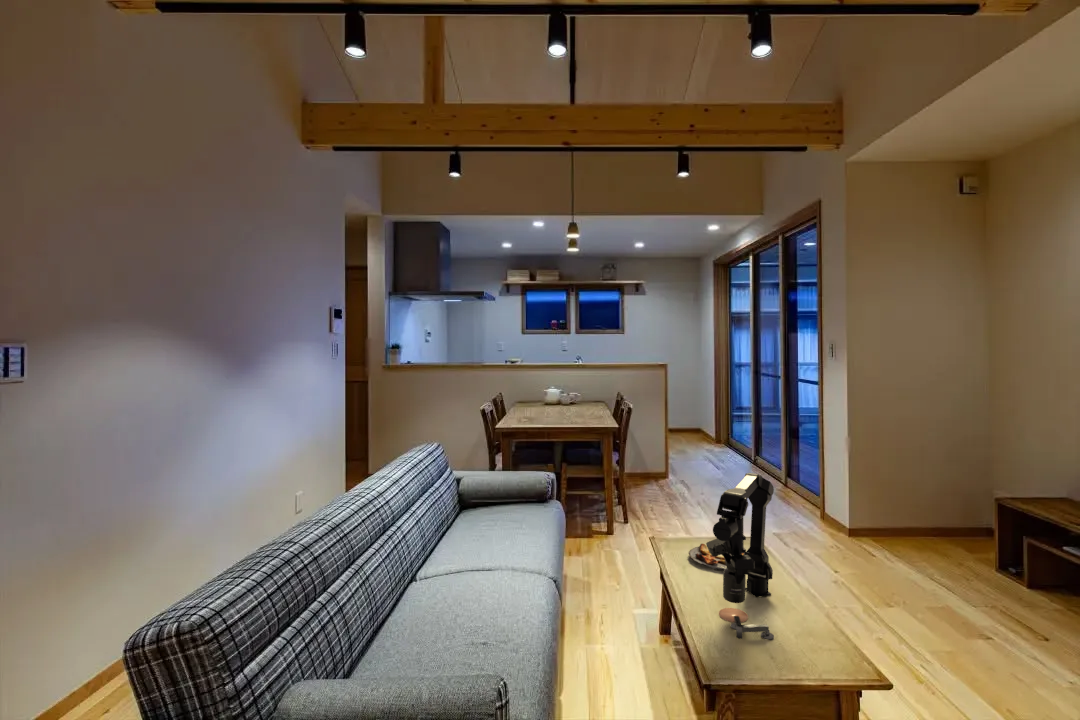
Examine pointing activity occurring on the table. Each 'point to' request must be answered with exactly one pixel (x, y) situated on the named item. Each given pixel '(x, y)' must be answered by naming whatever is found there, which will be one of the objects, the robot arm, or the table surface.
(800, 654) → the table surface
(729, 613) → the peach domed disc
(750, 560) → the robot arm
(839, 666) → the table surface
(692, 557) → the food plate
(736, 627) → the jointed grey bar linkage
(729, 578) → the supplement bottle
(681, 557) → the table surface
